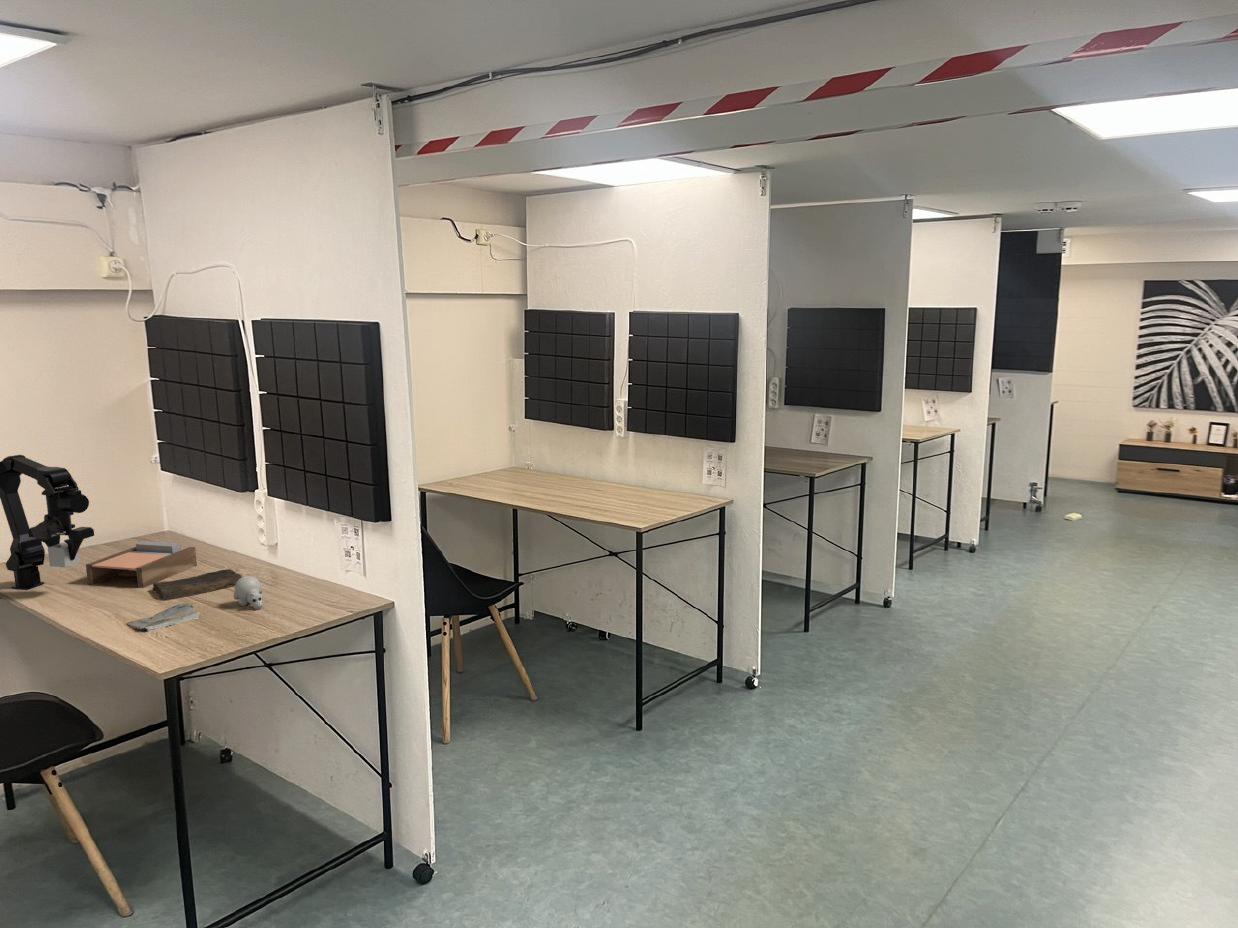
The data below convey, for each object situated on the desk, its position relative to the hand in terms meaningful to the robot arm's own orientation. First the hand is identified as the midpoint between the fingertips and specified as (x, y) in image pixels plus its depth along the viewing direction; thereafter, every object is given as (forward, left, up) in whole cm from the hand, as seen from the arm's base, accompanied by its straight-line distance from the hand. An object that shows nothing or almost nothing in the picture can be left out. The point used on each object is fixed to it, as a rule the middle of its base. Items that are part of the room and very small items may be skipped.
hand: (64, 559), depth 263 cm
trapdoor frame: (+8, +23, -11) cm, 26 cm away
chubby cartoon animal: (+62, +2, -11) cm, 63 cm away
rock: (+35, +15, -12) cm, 40 cm away
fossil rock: (+45, -13, -12) cm, 48 cm away
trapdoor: (+8, +21, -8) cm, 24 cm away
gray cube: (0, 0, -2) cm, 2 cm away
